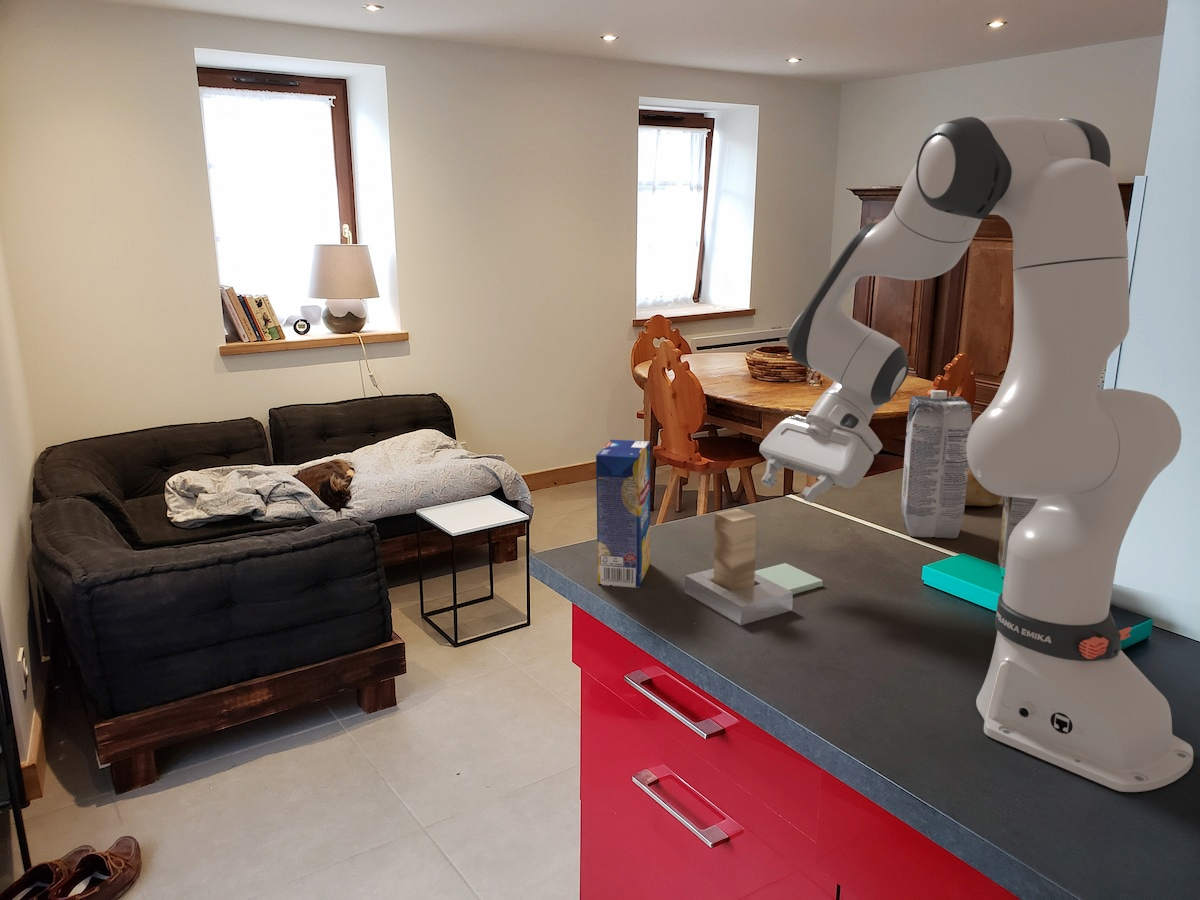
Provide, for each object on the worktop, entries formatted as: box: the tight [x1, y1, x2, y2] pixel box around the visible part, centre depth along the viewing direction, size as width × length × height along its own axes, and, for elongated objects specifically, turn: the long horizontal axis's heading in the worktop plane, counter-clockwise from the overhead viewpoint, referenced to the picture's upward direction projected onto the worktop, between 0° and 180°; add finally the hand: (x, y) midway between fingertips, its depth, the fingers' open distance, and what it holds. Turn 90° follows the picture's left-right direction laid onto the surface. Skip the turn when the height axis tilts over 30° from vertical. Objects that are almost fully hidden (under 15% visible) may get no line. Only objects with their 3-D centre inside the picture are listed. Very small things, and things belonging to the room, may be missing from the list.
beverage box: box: [595, 439, 651, 589], centre depth 148 cm, size 7×11×22 cm, turn 167°
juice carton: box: [900, 389, 973, 539], centre depth 166 cm, size 9×10×27 cm
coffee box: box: [997, 496, 1038, 568], centre depth 148 cm, size 9×6×16 cm
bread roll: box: [965, 467, 1002, 507], centre depth 184 cm, size 10×15×8 cm, turn 79°
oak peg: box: [713, 508, 757, 592], centre depth 139 cm, size 4×4×14 cm
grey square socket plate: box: [684, 568, 794, 626], centre depth 139 cm, size 14×10×3 cm
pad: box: [755, 562, 824, 595], centre depth 146 cm, size 9×9×1 cm
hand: (785, 492), depth 141 cm, fingers open, 8 cm apart
